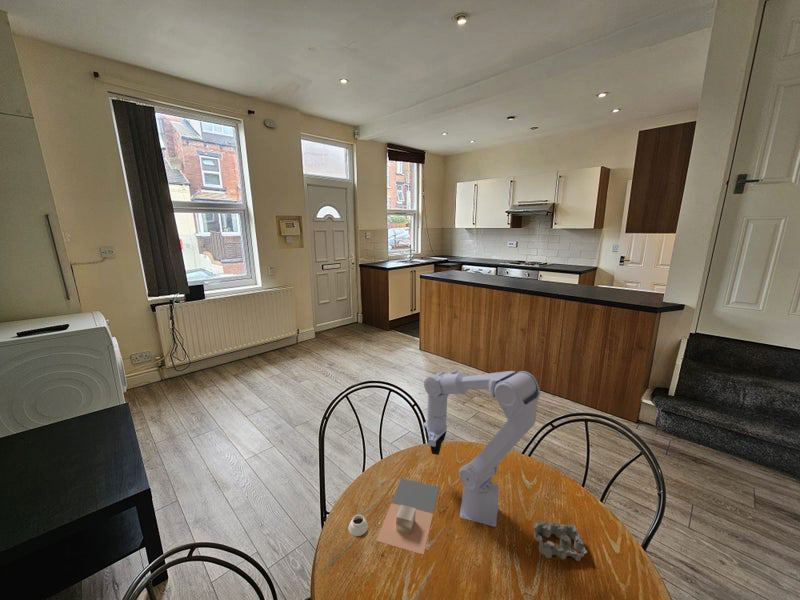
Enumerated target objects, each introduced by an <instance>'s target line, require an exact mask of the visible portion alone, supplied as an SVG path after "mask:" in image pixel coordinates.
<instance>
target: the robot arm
mask: <svg viewBox="0 0 800 600" xmlns="http://www.w3.org/2000/svg"><path fill="white" fill-rule="evenodd" d="M423 387H424V390H425V392H426V394H427V412H426V413H427V418H426V420H427V421H426V422H423V424H422V427H423V428H424V429H426V433H425V437H426V440H427V442H428V446H430V447H429V448H430V451H431V452H430V453H431V454H432V455H436V456H438V455H440V453H441V448H442V444H443V443H444V440H445V439H446V435H447V430H448V429H447V428H448V427H447V419H448V418H447V416H448V415H447V413H448V411H447V410H448V396H450V395H461V394H462V395H463V394H466V393H468V391H469V390H489V393H490V395H491V396H490V397H491V398H492V399H493V398H495V399H496V402H497V403H498V405H499V407H500V408H501V410H502V412H503V414H504V416H505V418H506V419H507V421H506V422H505V423H504V424H503V425H502V426H501V428H500V429H499V430H498V431H497V433H496V434H495V435H493V437H492V438H491V440H490V441H489V442H488V443H487V444H486V446H485V447H484V448H483V449H482V450H481V452H480V453H478V455H476V456H475V457H474V458H472V460H470V461H469V462H467V463H466V464H465V465H462V466H461V467H460V468H459V469H458V476H459V479H460V482H461V483H462V485H463V492H462V493H463V495H462V496H461V497H462V498H461V503H460V511H459V517H460V518H461V519H465V520H468V521H472V522H476V523H480V524H484V525H486V526H490V527H494V528H496V527H497V523H498V521H497V519H498V513H499V484H497V483H494V482H492V481H493V476H495V475H496V474H497V472H498V466H499V465H500V464H501V461H503V460H504V458H505V457H506V456H507V455H508V454H509V452H510V451H512V450H513V449H514V448H515V446H517V444H518V443H519V442H520V441H521V439H523V438H524V437H525V436H526V434H527V433H528V432H529V431H530V430H531V429H532V428H533V427H534V426H535V424H536V421H537V410H538V401H539V398H540V396H541V394H542V392H541V390H540V387H539V384H538V381H537V378H536V377H535V376H534V375H532V373H530V372H528V371H526V370H520V371H518V372H516V371H515V370H507V371H500V372H490V373H482V374H476V375H473V374H472V375H467V374H466V373H465V372H462V371H460V372H459V370H457V369H455V370H452V371H451V372H450V373H448V372H446V373H445V372H444V371H442V372H439V373H438V372H437V373H436V374H433V375H431V376H428V377H426V378H425V379H424V382H423Z"/></svg>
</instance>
